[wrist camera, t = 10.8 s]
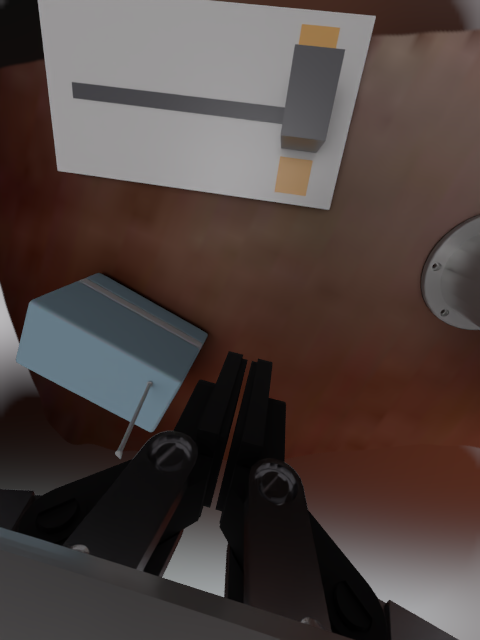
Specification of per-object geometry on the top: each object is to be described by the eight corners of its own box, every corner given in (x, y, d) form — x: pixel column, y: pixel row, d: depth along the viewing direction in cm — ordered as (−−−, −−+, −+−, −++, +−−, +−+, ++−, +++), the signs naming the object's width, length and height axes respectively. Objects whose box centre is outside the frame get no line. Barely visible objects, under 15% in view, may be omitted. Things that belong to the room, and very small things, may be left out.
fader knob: (330, 83, 24) (345, 49, 18) (316, 152, 26) (325, 140, 20) (292, 79, 24) (294, 44, 18) (280, 148, 26) (280, 135, 20)
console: (365, 36, 25) (376, 15, 22) (325, 208, 30) (329, 209, 28) (61, 5, 27) (34, -17, 24) (76, 172, 32) (57, 170, 30)
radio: (84, 323, 40) (-78, 427, 22) (103, 269, 37) (-73, 340, 19) (183, 377, 42) (106, 516, 24) (210, 330, 38) (145, 452, 20)
